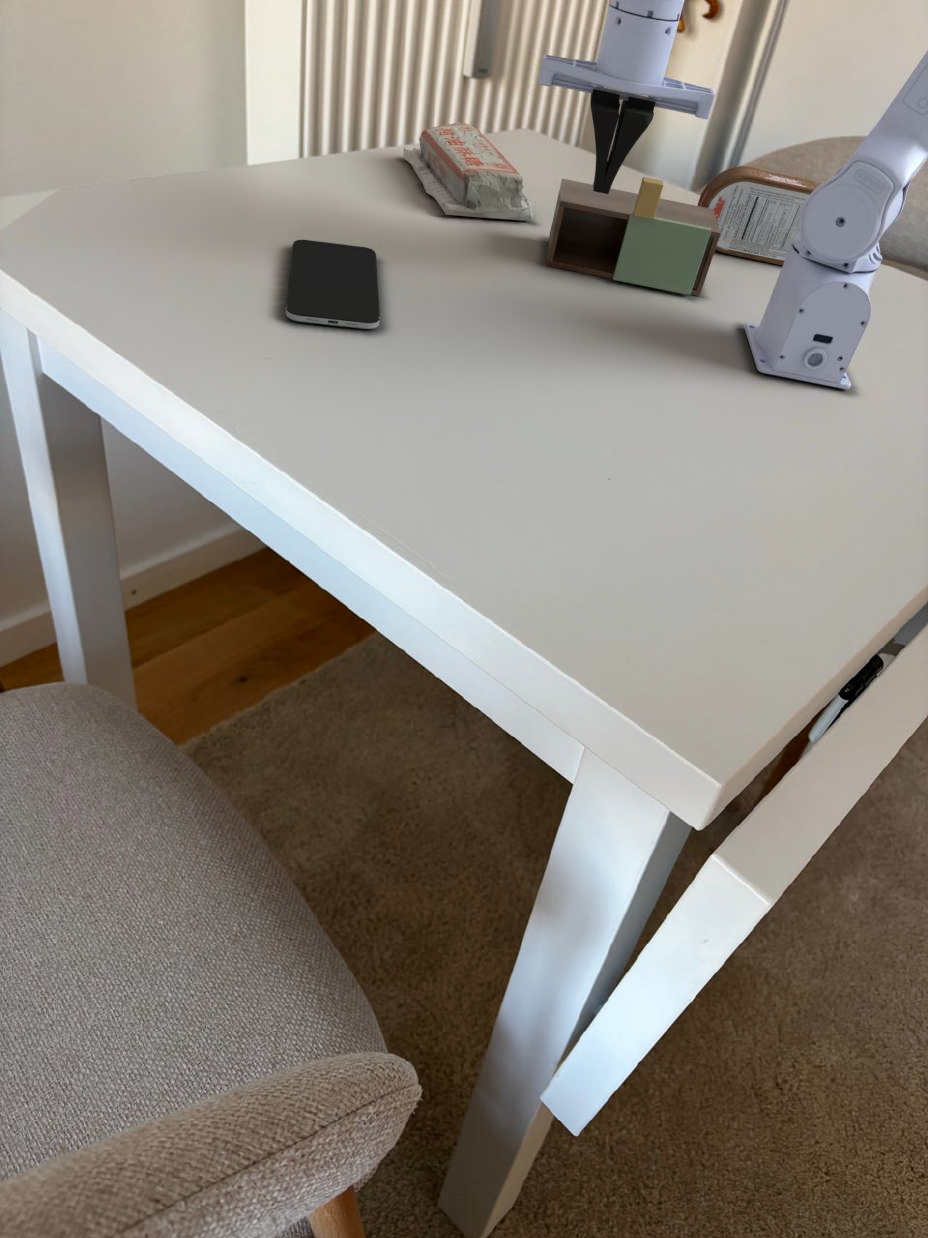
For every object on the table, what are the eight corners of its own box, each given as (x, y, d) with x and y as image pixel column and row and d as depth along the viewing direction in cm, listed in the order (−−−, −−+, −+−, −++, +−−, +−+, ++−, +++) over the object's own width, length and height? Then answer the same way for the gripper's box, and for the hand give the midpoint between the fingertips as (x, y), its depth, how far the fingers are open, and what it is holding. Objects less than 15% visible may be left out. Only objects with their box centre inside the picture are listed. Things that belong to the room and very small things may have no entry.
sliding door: (690, 296, 88) (723, 197, 82) (612, 281, 88) (640, 180, 82) (689, 291, 89) (721, 192, 83) (612, 275, 89) (639, 175, 83)
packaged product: (545, 175, 94) (451, 167, 91) (535, 224, 97) (443, 218, 94) (490, 120, 106) (406, 112, 103) (483, 165, 109) (401, 158, 106)
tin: (820, 266, 102) (853, 185, 96) (825, 276, 99) (860, 195, 94) (685, 238, 101) (711, 156, 96) (688, 249, 99) (714, 165, 93)
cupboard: (699, 296, 89) (720, 232, 85) (546, 265, 89) (560, 200, 85) (693, 269, 94) (713, 208, 90) (548, 240, 94) (561, 178, 90)
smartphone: (284, 312, 71) (292, 237, 81) (284, 321, 71) (292, 245, 82) (381, 323, 72) (376, 248, 83) (380, 331, 72) (375, 255, 83)
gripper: (727, 22, 78) (676, 191, 86) (556, -14, 77) (523, 160, 86) (737, 37, 72) (682, 216, 81) (554, -2, 72) (519, 183, 81)
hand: (600, 189), depth 83 cm, fingers closed
